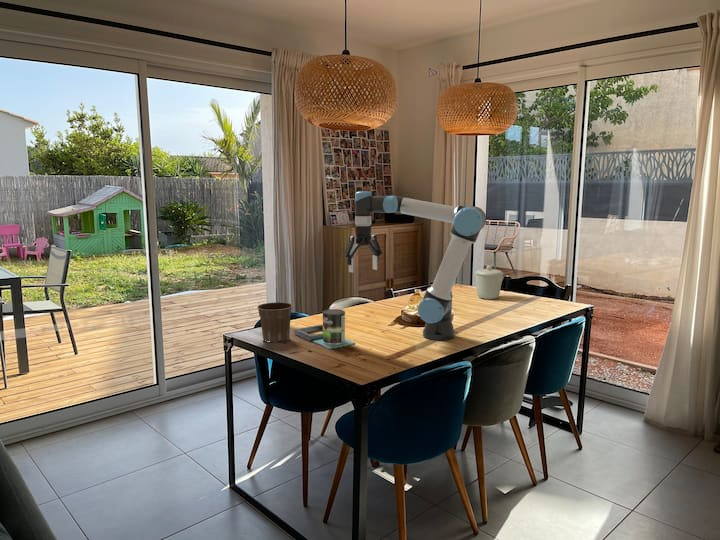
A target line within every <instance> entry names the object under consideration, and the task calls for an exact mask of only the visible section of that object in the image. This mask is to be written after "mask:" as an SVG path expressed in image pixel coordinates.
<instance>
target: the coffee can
mask: <svg viewBox="0 0 720 540" xmlns="http://www.w3.org/2000/svg"><path fill="white" fill-rule="evenodd" d="M321 313H322V325H323V331H322V333H323V343H325V344H328V345H339V344H343V343H344V342H345V339H346V311H345V310H343V309H340V308H339V309H338V308H336V309H335V308H333V309H331V308H330V309H325V310H323V311H322V312H321Z"/></svg>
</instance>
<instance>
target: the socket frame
mask: <svg viewBox="0 0 720 540" xmlns="http://www.w3.org/2000/svg"><path fill="white" fill-rule="evenodd" d="M319 330H322V331H321V332H322V333H316V334H310V333H314V332H313V331H316V332H320V331H319ZM293 331H294V332H293V333H295V334H296V336H297V335H298V337H299V336H300V337H299V338H301V337H302V339H304V340H305V341H308V342H310V343H311V342H313V341H315V340H320V339H323V324H317V325H312V326H304V327H300V328H295V329H294V330H293ZM307 332H310V333H307ZM295 334H294V335H295Z"/></svg>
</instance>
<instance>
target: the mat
mask: <svg viewBox="0 0 720 540" xmlns="http://www.w3.org/2000/svg"><path fill="white" fill-rule="evenodd" d="M312 343H314V344H317V345H318V344H319V345H318V346H320V345H321V347H323V348H325V349H327V350H329V349H330V350H334V349H339V348H343V346H344V347H348V345H349V346H352V345H353V344H354V345H356V342H354V341H351V340H349V339H347V338H345V342H344V343H343V344H339V345H328V344H325V343H323V339H320V340H315V341H312ZM338 347H339V348H338ZM333 348H334V349H333Z"/></svg>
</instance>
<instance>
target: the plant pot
mask: <svg viewBox="0 0 720 540" xmlns="http://www.w3.org/2000/svg"><path fill="white" fill-rule="evenodd" d="M256 308H257V310H258V315H259V318H260V319H259V320H260V324H261V325H260V327H261V333H262V340H263V339H264V340H266V341H270V342H277V343H280V342H282V341H284V342H287V341H289V339H290V335H291V334H290V333H291V332H290V331H291V316H292V308H293V304H292V303H290V302H281V301H280V302H279V301H278V302H266V303H262V304H259V305H257V307H256ZM264 340H263V341H264ZM286 340H287V341H286Z"/></svg>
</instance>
